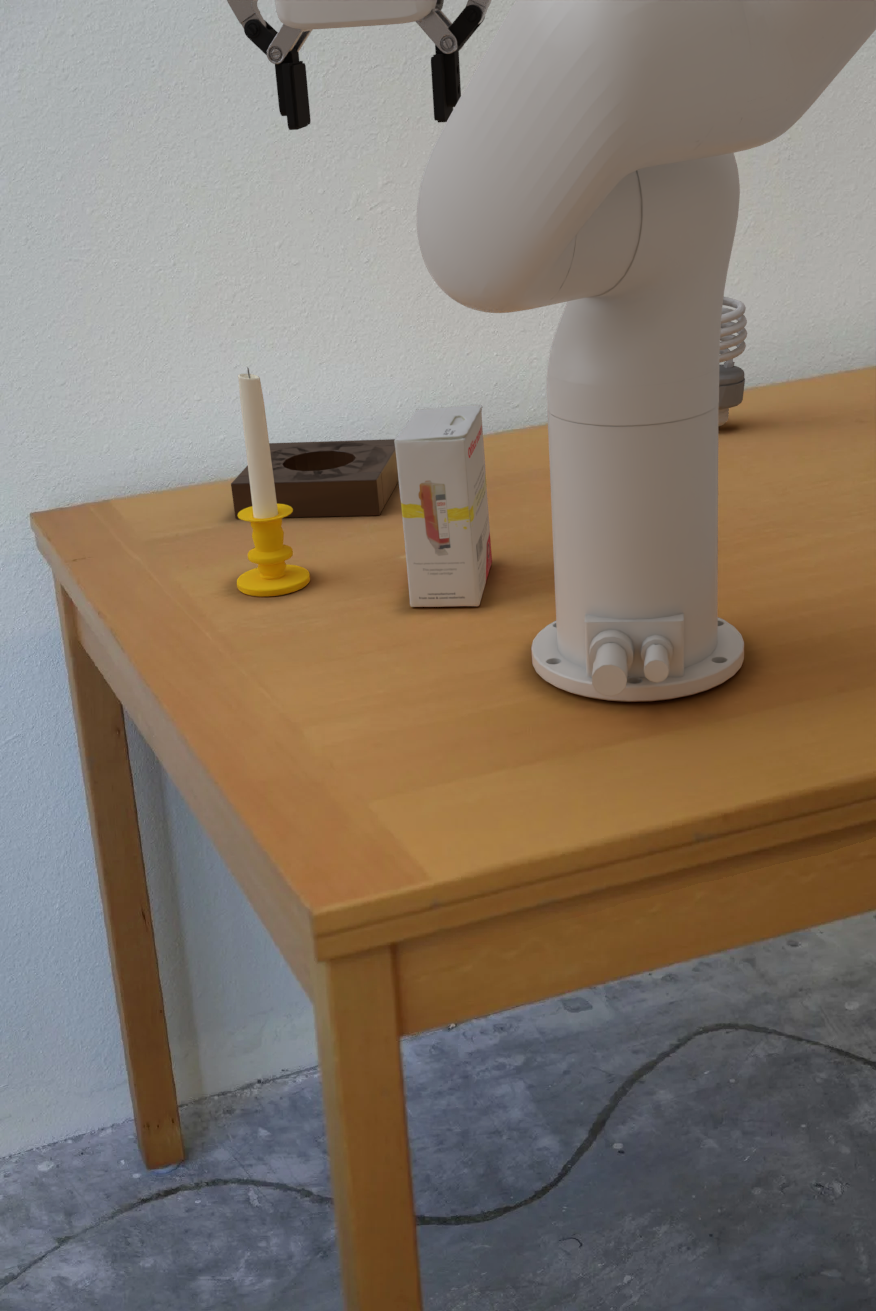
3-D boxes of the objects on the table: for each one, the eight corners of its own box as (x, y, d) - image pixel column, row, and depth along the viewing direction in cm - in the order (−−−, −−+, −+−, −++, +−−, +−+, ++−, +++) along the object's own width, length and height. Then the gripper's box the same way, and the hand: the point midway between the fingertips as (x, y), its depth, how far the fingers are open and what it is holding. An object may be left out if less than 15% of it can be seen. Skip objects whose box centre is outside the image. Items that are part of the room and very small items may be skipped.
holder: (379, 515, 118) (376, 479, 117) (235, 518, 120) (230, 483, 119) (404, 472, 129) (401, 438, 128) (271, 475, 131) (267, 443, 130)
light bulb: (711, 417, 138) (711, 287, 134) (758, 426, 134) (761, 293, 130) (670, 430, 135) (669, 297, 131) (717, 440, 131) (718, 303, 126)
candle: (315, 569, 108) (291, 356, 101) (304, 595, 103) (278, 373, 97) (245, 572, 108) (217, 360, 102) (230, 598, 103) (200, 378, 97)
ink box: (427, 564, 107) (414, 404, 102) (494, 563, 106) (484, 401, 101) (406, 609, 99) (391, 437, 94) (479, 608, 98) (467, 435, 94)
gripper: (191, -171, 87) (226, 136, 94) (480, -197, 84) (494, 123, 91) (230, -160, 94) (260, 125, 101) (500, -185, 90) (511, 112, 97)
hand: (371, 124), depth 96 cm, fingers open, 9 cm apart
